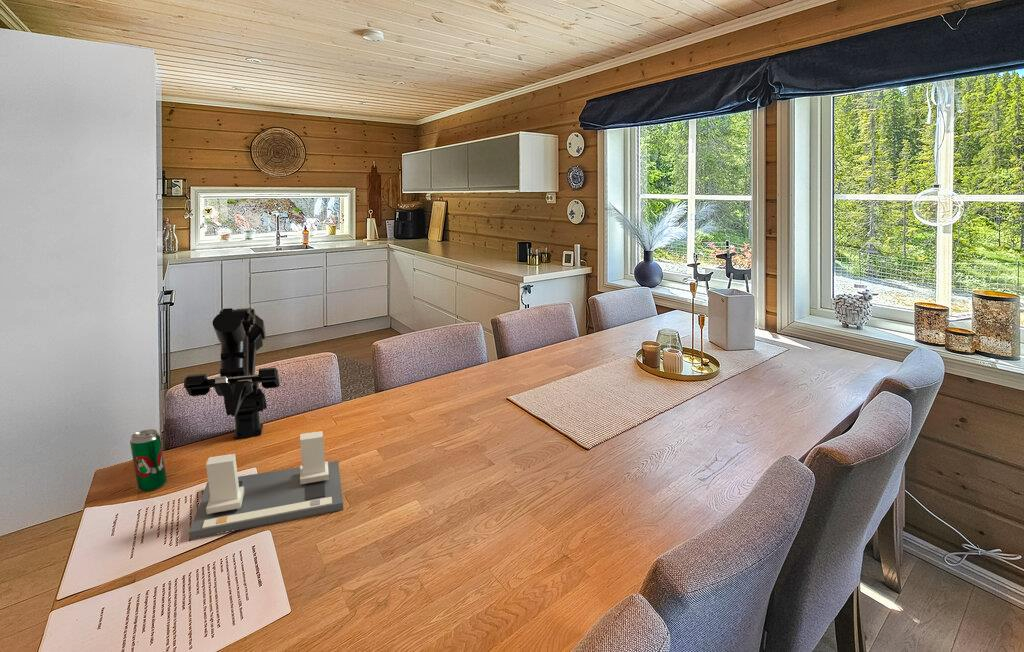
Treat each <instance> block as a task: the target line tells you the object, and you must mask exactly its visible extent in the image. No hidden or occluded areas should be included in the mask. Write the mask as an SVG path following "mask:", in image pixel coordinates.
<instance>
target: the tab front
mask: <svg viewBox="0 0 1024 652" xmlns="http://www.w3.org/2000/svg"><path fill="white" fill-rule="evenodd" d="M236 459H237V457H236V453H229V454H224V455H216V456H210V457H208V459H207V461H206V464H205V467H206V473H207V482H208V483H209V490H210V498H209V501H208V504H207V507H206V511H207V514H211V513H216V512H222V511H227V510H233V509H238V508H241V505H242V501H243V496H244V486H243V487H239V482H238V477H239V476H238V468H237V467H238V466H237V460H236Z"/></svg>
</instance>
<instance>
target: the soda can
mask: <svg viewBox="0 0 1024 652" xmlns="http://www.w3.org/2000/svg"><path fill="white" fill-rule="evenodd" d="M130 436H131V439H130V440H129V443H130V444H129V445H130V451H131V456H132V461H133V468H134V473H135V474H134V475H135V479H136V484H137V489H138V490H140V491H143V492H151V491H155V490H158V489H160V488H162V487H164V486H165V484H166V483H167V482H168V477H167V472H166V465H165V459H164V453H163V447H162V440H161V439H162V438H161V434H159V433H158V430H156V429H143V430H140V431H136V432H135V433H133V434H132V435H130Z"/></svg>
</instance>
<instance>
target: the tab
mask: <svg viewBox="0 0 1024 652" xmlns="http://www.w3.org/2000/svg"><path fill="white" fill-rule="evenodd" d="M299 440H300V441H299V442H300V452H301V453H300V454H301V465H300V466H299V467H300V484H306V483H312V482H318V481H323V480H329V471H328V462H329V461H325V459H326V458H325V446H324V434H323V430H321V431H313V432H305V433H300V436H299Z"/></svg>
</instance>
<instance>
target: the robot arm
mask: <svg viewBox="0 0 1024 652" xmlns="http://www.w3.org/2000/svg"><path fill="white" fill-rule="evenodd" d="M212 326H213V330H214V332H215V334H216V337H217V339H218V341H219V343H220V367H219V368H220V369H219V376H215V377H214V378H208V377H207V374H206V373H198V374H197V373H196V374H188V375H186V377H184V380H183V387H184V389H185V391H186V392H187V394H188V396H189V397H199V396H201V397H202V396H206V395H208V394H209V393H210V392H211V391H210V390H211V388H214V391H215V393H216V395H217V397H223V402H224V409H225V413H226V416H231V417H234V423H235V424H234V426H235V430H234V433H233V436H232V437H233V439H241V438H248V437H255V436H261V435H262V434H263V429H264V423H261V420H260V412H264V410H266V409H268V404H267V399H266V395H265V393H264V392H263V390H262V388H264V389H267V390H268V389H278V388H279V387H281V384H280V383H281V382H280V375H279V370H278V368H276V367H264V368H258V374H256V362H257V351H258V350H260V349H261V348H262V347H264V340H266V339H267V338H266V337H267V335H266V334H267V333H266V327H265V322H264V320H263V319H262V318H261V317H259V316H258V315H257V314H256V310H255V308H252V307H248V308H235V309H233V308H232V307H231V308H230V307H229V308H222V309H220V310H219V313H218V314H217V315H215V317H214V318H213V320H212ZM260 383H261V387H262V388H260V386H259V384H260Z"/></svg>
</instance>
